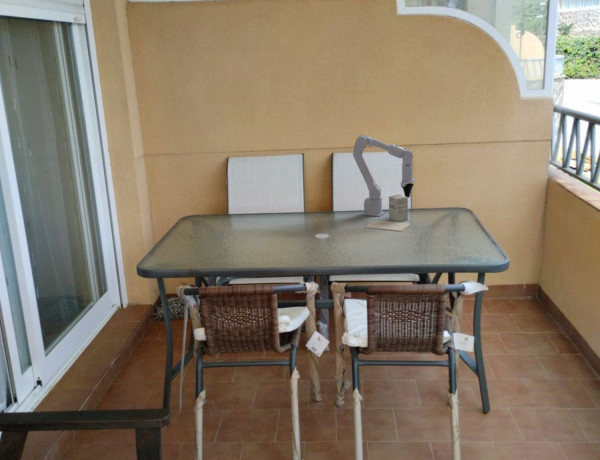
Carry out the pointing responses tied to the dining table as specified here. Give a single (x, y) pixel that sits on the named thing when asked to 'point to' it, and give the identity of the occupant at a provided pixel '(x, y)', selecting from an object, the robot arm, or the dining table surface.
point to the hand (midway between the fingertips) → (407, 197)
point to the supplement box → (398, 208)
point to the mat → (388, 225)
